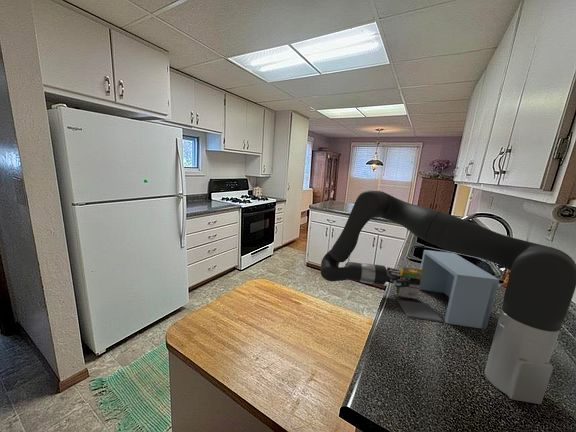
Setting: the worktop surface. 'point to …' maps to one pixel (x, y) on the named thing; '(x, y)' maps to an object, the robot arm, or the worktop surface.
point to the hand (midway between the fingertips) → (417, 280)
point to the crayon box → (412, 289)
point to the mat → (419, 310)
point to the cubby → (460, 287)
